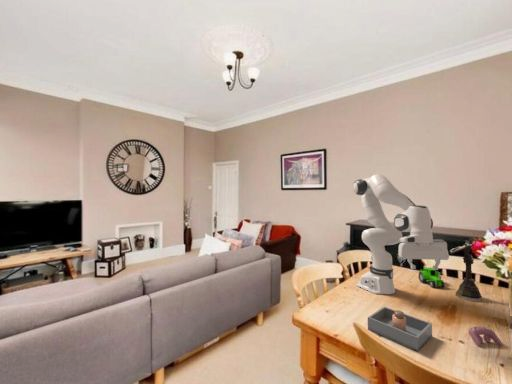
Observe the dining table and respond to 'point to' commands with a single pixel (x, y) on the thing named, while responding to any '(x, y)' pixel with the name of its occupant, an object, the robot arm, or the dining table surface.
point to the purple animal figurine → (486, 333)
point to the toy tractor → (431, 277)
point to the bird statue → (467, 276)
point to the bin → (412, 338)
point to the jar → (399, 320)
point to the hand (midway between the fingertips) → (424, 269)
